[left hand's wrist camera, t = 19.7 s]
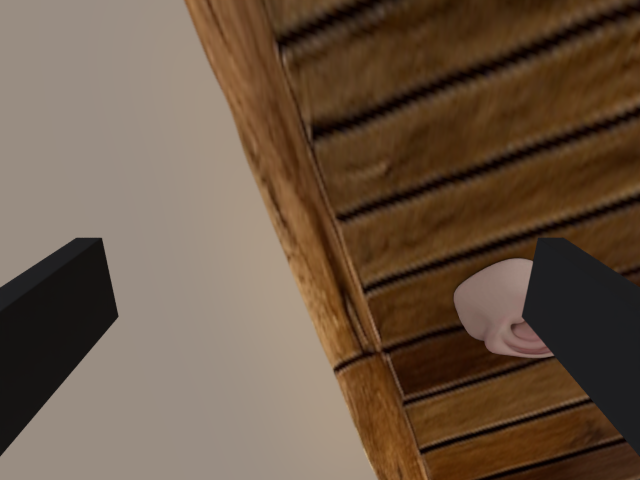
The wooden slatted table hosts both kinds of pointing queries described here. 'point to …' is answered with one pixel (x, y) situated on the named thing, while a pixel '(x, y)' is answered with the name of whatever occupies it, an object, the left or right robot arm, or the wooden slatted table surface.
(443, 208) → the wooden slatted table surface
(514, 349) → the anatomical model
